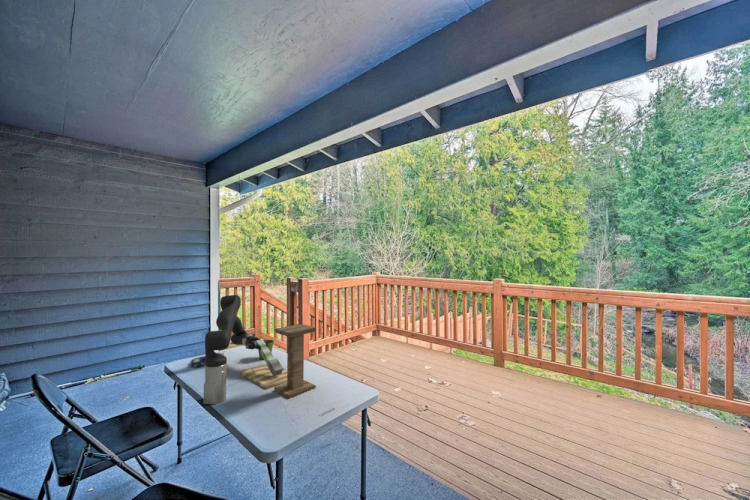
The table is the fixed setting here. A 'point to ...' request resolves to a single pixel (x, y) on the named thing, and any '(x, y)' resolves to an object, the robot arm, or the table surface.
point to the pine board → (265, 376)
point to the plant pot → (270, 345)
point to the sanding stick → (270, 359)
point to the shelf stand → (295, 360)
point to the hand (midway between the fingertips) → (264, 347)
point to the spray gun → (200, 361)
